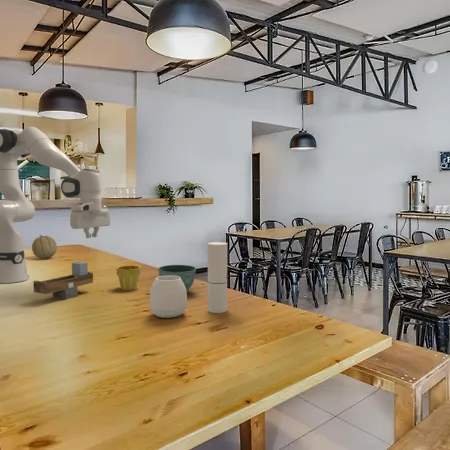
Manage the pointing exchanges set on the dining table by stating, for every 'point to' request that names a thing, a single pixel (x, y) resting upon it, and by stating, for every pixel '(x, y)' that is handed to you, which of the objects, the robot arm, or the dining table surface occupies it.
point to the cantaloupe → (44, 247)
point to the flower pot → (179, 273)
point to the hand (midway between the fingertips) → (91, 237)
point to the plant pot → (128, 276)
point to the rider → (79, 269)
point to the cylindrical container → (217, 277)
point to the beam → (62, 285)
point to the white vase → (168, 296)
